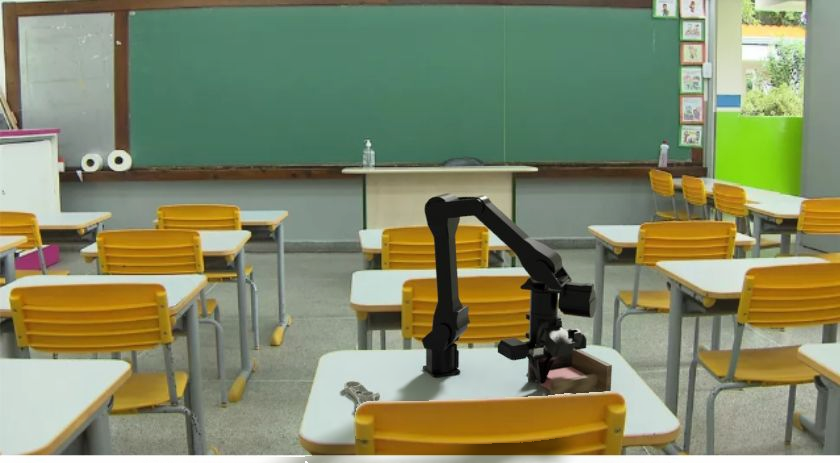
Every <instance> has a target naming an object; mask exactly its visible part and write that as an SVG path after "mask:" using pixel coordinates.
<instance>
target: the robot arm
mask: <svg viewBox="0 0 840 463" xmlns="http://www.w3.org/2000/svg"><path fill="white" fill-rule="evenodd" d="M423 209H424V216H425V219H426V224H427V227H428V229H429V231H430V232H431V235H432V237H433V246H434V261H435V262H434V263H435V274H436V275H435V280H436V293H437V297H436V298H437V301H436V302H437V303H436V306H435V308H434V312H433V317H432V326H431V330H430V332H429V333H428V334H426V335H425V336H424V337H423V338H422V339H421V342H422V345H423V348H424V349H425V365H423V366H422V369H423V370H424V371H426V372H427V373H428V374H430V375H431V376H432V377H434V378H440V377H445V376H451V375H457V374H458V375H459V374H461V370H460V369H458V368H459V367H460V365H459V364H460V350H458V344H457V343H456V342H458V341H459V340H460V337H461V336H462V335H463V334H464V333H465V332H467V329H468V325H469V324H471V321H470V318H469V312H470V311H469V309H470V307H469V305H463V304H462V302H461V300H460V294H459V280H458V263H457V259H458V258H457V245H456V244H457V243H456V241H457V240H456V234H457V231H458V227H459V224H460V220H461V218H463V217H464V218H465V217H475V218H476V219H477V220H478V221H479V222H481V223H482V224H483V225H484V226H485V227H486V228H487V229H488V230H489V231H490V232H491V233H493V234H494V235H495V236H496V237H497V238H498V239H499V240H500V241H501V242H502V243H503V244H504V245H505V246H507V248H509V249H510V250H511V251H512V252H513V253H514V254H515V256H516V257H517V259H518V261H519V263H520V265H521V267H522V268H523V269H524V270H525V272H526V273H527V274H528V276H529V277H528V278H527V280H526V281H525V282H524V283H523V284H522V285H520V290H524V291H525V290H527V291H530V292H529V293H530V295H529V313H526V314H525V319H526V320H528V321H529V328H528V332H525V338H526V339H528V340H527V341H522V340H520V339H518V338H516V337H510V338H504V339H500V341H499V342H498V344H497V353H498V354H500V355H501V356H503V357H505V358H506V359H508V360H511V361H520V360H524V359H527V360H529V361H530V363H531V365H532V368H533V370H534V373H535V375H536V377H537V380H538V381H537V382H538V384H539V383H540V384H544V383H545V381H546V378H547V376H548V373H549V371H550V369H551V366H552V364H553V362H554V361H555V359H557V358H558V357H560V356H565V355H568V356H569V355H571V354H572V352H573V349H575V350H579V349H580V350H584V349H586V348H587V345H588V344H587V337H586V335H585V334H584V333H582V331H581V330H580V329H579V328H567V329H564V328H563V321H562V317H559V311H560V312H562V314H563V315H567V316H573V317H581V318H589V319H593V318H594V316H595V313H596V309H597V301H598V299H597V296H596V290H595V283H590V282H586V283H582V282H573V281H572V277H570V275H569V273H568V272H567V271H566V269H565V268H564V266H563V261H562V257H561V255H560V253H558V252H557V251H556V250H554V249H553V248H551V247H549V246H547V245H546V244H544V243H542V242H540V241H538V240H536V239H534V238H532V237H531V236H529V235H528V234H527V233H525V231H524V230H523V229H521V228H520V227H519V226H518V225H517V224H516V223H515V222H514V221H513V220H512V219H511V218H509V216H507V215H506V214H505V213H504V212H503V211H502V210H500V209H499V207H497V206H496V205H495V204H494V203H493V202H492V201H491V200H490V198H489V197H488V196H487V195H479V196H477V195H476V196H456V195H454V194H452V193H450V192H449V193H442V194H440V195H436V196H432V197H431V198H429V199H428V200H427V201H426V202H425V204H424V208H423ZM558 309H559V310H558ZM540 384H539V385H540Z"/></svg>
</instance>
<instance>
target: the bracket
mask: <svg viewBox="0 0 840 463" xmlns="http://www.w3.org/2000/svg"><path fill="white" fill-rule="evenodd" d="M343 386H344V394H349V395H350V396H351V397H353V399H355V400H356V402H357V404H356V405H355V409H356V408H357V407H358V406H359V405H360V404H362V403H363V402H366V401H375V402H376V401H378V400H380V397H381V393H380V392H378V391H376V393H374V392H373V391H370V390H368V389H367V388H366V387H365V385H363V383H361V382H360V381H356V380H349V381H346V382H345V383H344V385H343ZM359 393H360V394H359Z"/></svg>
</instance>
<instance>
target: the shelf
mask: <svg viewBox="0 0 840 463" xmlns="http://www.w3.org/2000/svg"><path fill="white" fill-rule="evenodd" d="M527 363H528V364H527V373H526V376H527V383H534V382H538V380H537V377H536V375H535V373H534V370H533V368H532V365H531V363H530V361H529V359H527ZM566 367H572V368H574V369H576V370H578V371H580V372H582V373H584V374H585V375H584V376H579V377H574V378H568V379H563V380H558V381H553V382H551V391H550V395H555V394H564V393H575V394H579V392H580V393H583V392H585V393H586V392H590V391H593V390H598V391H600V392H602V391H611V392H612V374H613V373H612V371H613V365H612V364H610V363H608V362H606V361H604V360H602V359H600V358H599V357H596V356H594V355H592V354H590V353H588V352H585V351H584V350H583V349H579V350H575V349H573V352H572V354H571V355H569V356H568V355H565V356H560V357H558V358H557V359H555V361H554V362H553V364H552V366H551V369H550V370H554V369H560V368H566Z"/></svg>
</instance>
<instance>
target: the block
mask: <svg viewBox="0 0 840 463" xmlns="http://www.w3.org/2000/svg"><path fill="white" fill-rule="evenodd" d="M584 375H585V374H584V373H582V372H580V371H578V370H576V369H574V368H572V367H566V368H560V369H554V370H550V371H549V373H548V376H547V378H546V381H545V383H544V384H540V383H539V382H538V384H539V385H541V386H542V387H543V388H545V389H546V390H548V391H549V392H551V382H553V381H558V380H563V379H568V378H574V377H579V376H584Z"/></svg>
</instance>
